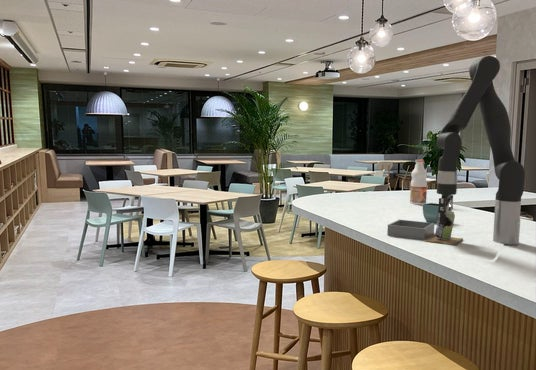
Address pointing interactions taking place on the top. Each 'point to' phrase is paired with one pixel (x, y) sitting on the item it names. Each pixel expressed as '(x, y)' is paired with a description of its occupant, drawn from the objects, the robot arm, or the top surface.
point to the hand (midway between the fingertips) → (445, 222)
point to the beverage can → (445, 226)
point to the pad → (450, 241)
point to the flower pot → (431, 212)
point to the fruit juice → (418, 184)
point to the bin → (411, 229)
